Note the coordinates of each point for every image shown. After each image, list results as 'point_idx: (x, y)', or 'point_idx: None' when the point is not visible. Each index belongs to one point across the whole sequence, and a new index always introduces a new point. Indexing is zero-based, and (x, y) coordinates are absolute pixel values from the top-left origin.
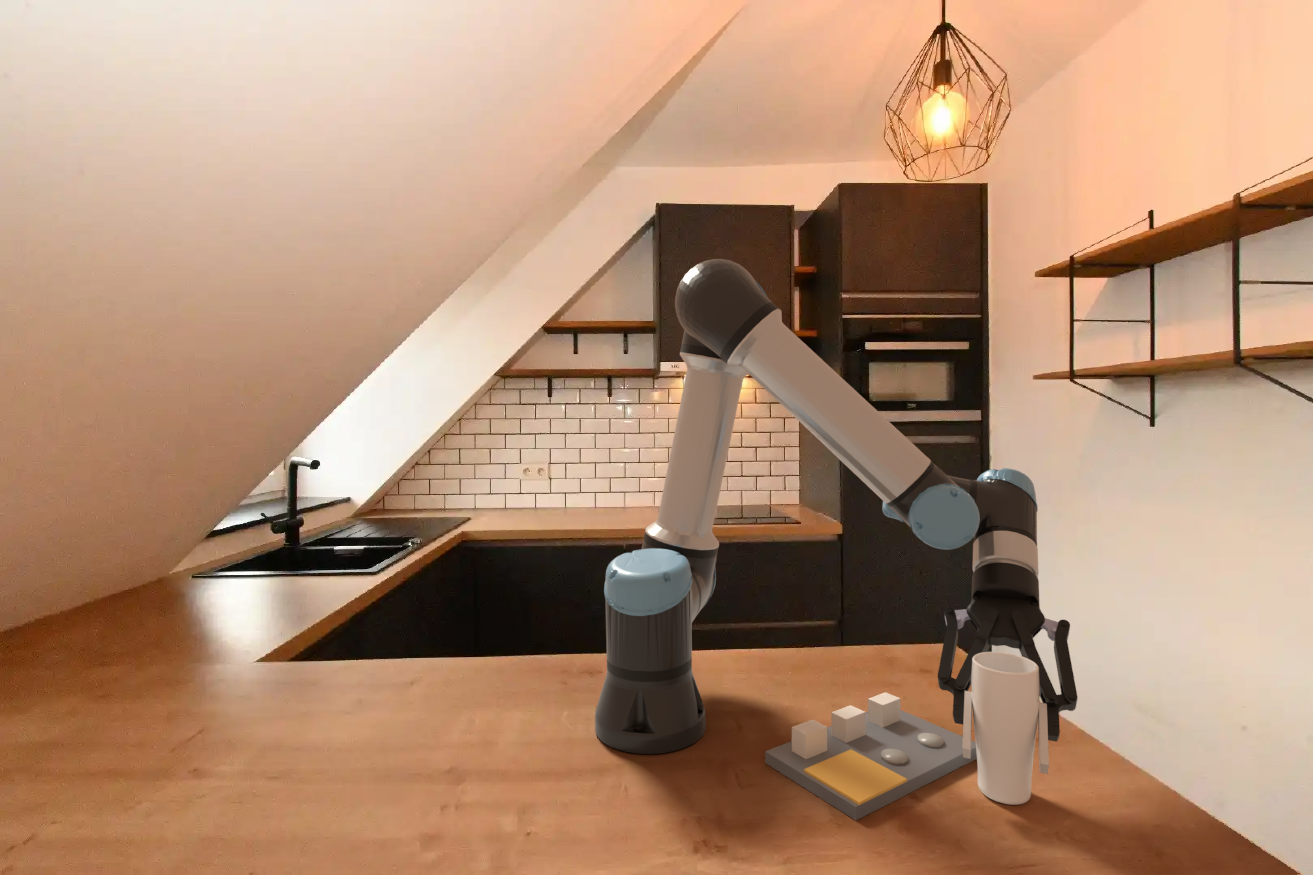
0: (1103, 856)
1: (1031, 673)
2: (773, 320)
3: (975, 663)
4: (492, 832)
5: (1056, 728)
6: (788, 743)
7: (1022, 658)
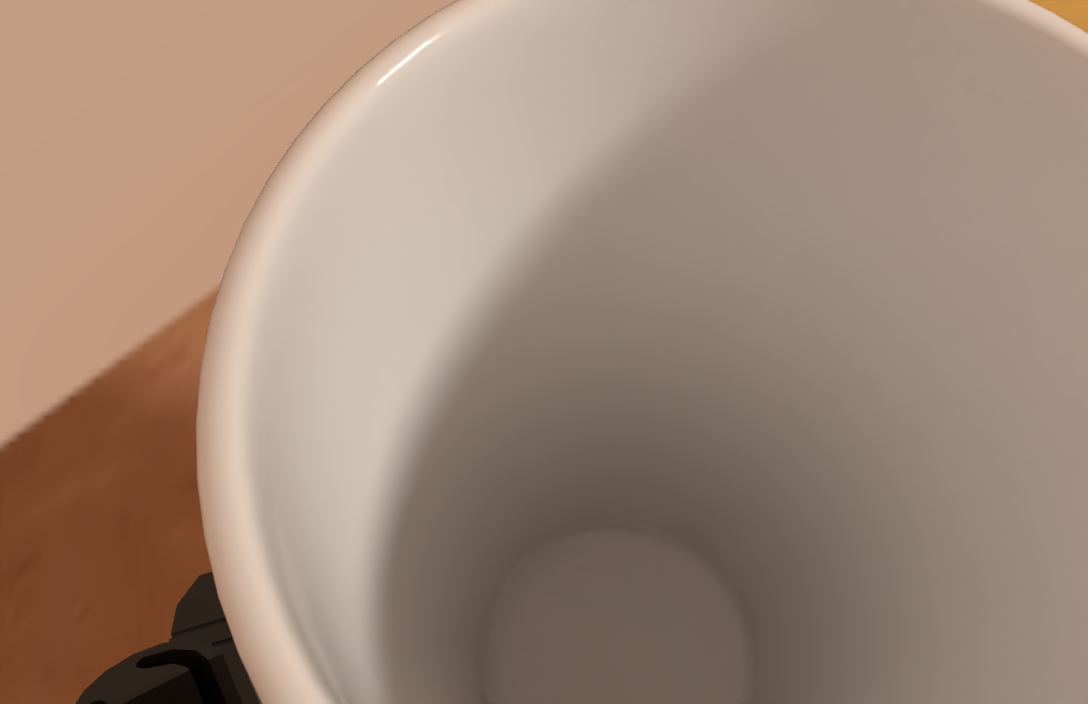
0: (107, 426)
1: (272, 176)
2: None
3: None
4: None
5: (199, 614)
6: None
7: None
